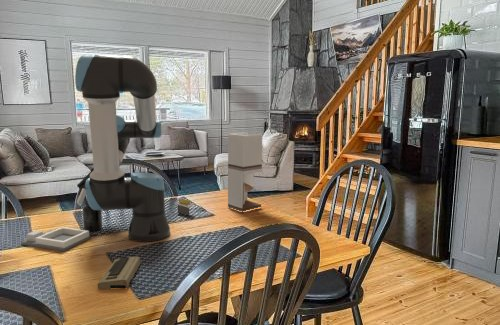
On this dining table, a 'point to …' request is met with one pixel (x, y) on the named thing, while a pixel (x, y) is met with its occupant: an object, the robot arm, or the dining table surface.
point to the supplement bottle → (91, 218)
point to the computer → (120, 273)
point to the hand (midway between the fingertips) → (94, 205)
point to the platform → (184, 206)
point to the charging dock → (56, 238)
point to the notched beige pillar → (243, 168)
